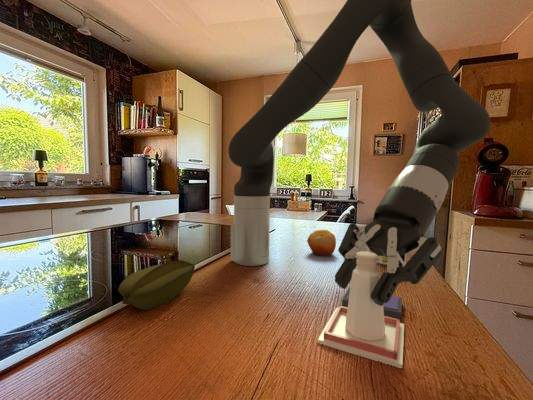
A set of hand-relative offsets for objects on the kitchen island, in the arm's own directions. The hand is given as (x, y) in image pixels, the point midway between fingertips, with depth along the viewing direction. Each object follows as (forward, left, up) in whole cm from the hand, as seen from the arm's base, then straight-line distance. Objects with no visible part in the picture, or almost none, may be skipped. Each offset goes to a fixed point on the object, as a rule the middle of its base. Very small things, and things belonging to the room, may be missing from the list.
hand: (356, 292), depth 36 cm
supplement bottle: (+1, +40, -7) cm, 40 cm away
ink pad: (+1, +12, -7) cm, 13 cm away
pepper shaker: (+1, +2, -6) cm, 6 cm away
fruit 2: (-16, +39, -7) cm, 42 cm away
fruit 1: (-32, -5, -7) cm, 33 cm away
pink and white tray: (+1, +2, -7) cm, 7 cm away
